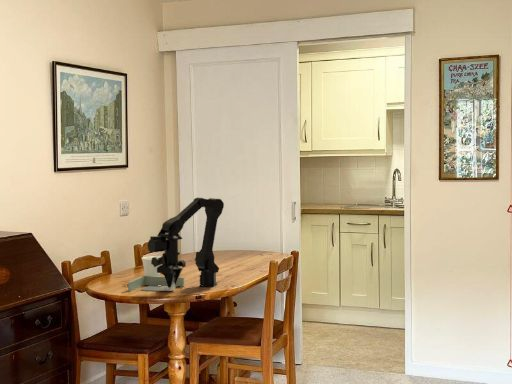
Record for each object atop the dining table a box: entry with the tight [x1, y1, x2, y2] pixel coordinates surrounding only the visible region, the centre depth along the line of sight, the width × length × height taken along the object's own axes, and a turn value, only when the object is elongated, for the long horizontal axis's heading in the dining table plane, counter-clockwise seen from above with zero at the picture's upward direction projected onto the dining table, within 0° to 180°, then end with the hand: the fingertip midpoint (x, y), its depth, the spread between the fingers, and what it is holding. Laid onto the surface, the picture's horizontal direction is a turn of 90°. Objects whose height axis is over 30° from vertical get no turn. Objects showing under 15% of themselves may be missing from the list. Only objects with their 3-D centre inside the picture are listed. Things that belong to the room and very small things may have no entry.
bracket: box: [158, 277, 176, 292], centre depth 292 cm, size 6×5×5 cm
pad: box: [140, 285, 161, 292], centre depth 298 cm, size 8×11×1 cm
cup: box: [141, 255, 162, 276], centre depth 316 cm, size 10×10×11 cm
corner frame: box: [127, 275, 185, 292], centre depth 298 cm, size 20×16×4 cm
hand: (171, 286), depth 292 cm, fingers closed on bracket, 5 cm apart
